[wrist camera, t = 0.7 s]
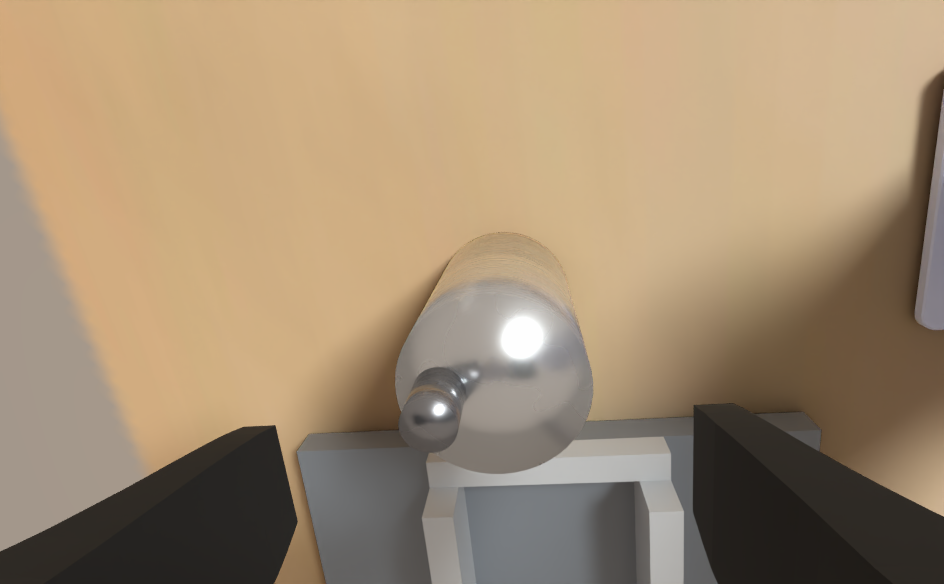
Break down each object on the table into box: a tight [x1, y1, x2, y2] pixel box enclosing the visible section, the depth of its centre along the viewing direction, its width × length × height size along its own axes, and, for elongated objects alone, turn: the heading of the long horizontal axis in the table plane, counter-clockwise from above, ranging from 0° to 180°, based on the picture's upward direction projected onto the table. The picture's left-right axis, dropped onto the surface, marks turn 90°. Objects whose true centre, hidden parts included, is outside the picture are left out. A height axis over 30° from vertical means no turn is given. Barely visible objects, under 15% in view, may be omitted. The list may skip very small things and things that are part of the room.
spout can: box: [395, 232, 593, 474], centre depth 15 cm, size 4×4×8 cm
